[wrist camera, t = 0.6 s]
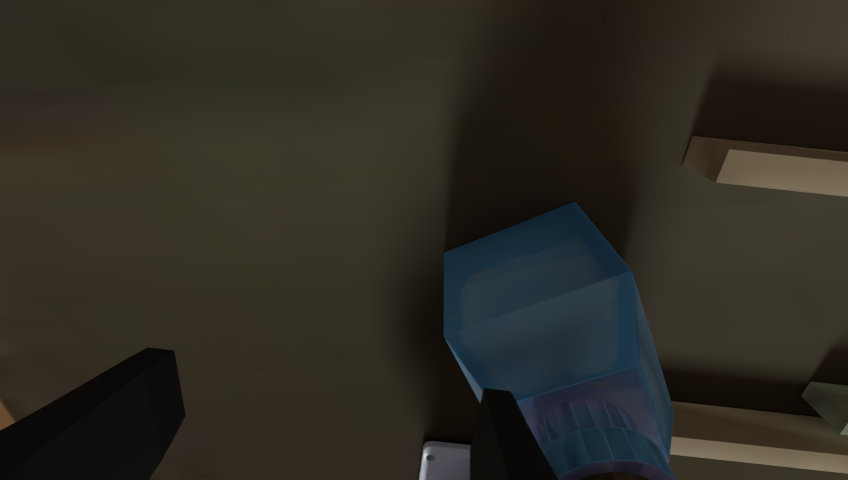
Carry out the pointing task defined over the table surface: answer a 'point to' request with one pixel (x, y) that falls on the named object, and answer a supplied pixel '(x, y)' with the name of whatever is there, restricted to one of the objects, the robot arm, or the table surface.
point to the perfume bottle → (563, 344)
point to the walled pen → (838, 404)
